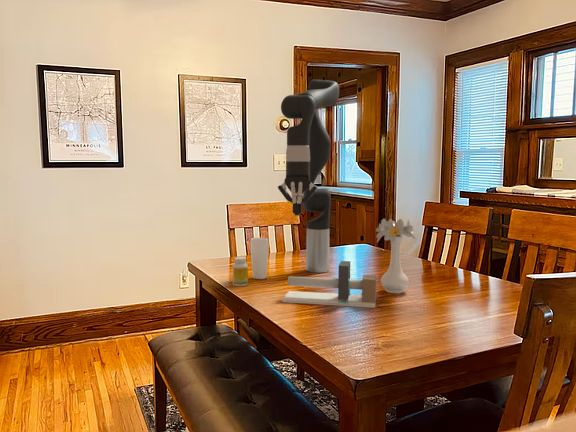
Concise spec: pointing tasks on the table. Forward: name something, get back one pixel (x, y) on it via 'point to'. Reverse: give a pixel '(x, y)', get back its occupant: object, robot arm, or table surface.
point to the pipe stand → (330, 298)
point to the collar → (343, 280)
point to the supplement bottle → (240, 272)
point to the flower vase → (394, 254)
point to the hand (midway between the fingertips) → (297, 215)
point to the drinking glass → (259, 257)
